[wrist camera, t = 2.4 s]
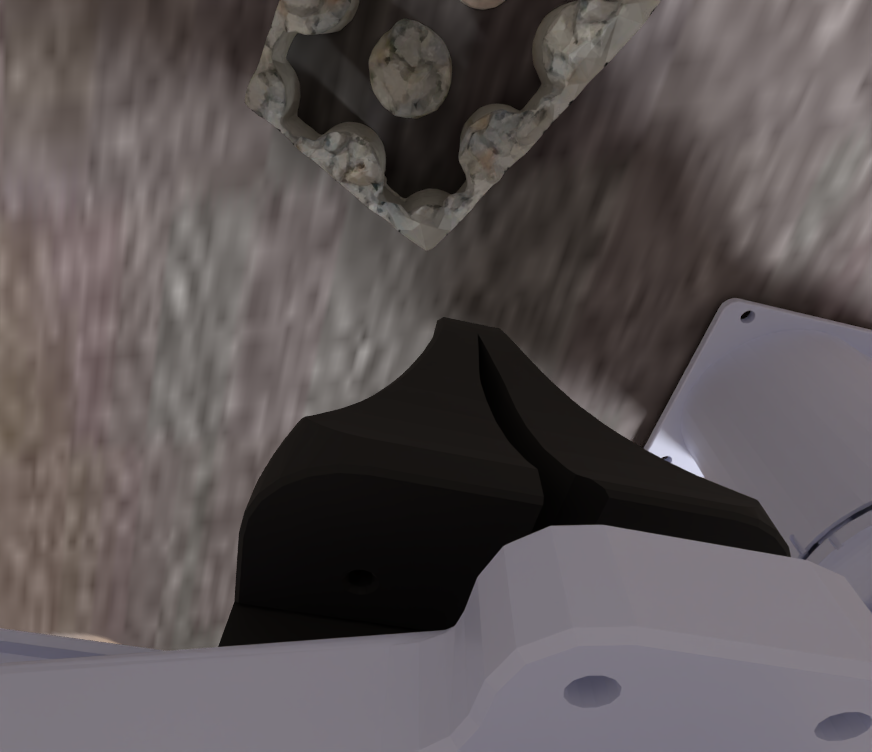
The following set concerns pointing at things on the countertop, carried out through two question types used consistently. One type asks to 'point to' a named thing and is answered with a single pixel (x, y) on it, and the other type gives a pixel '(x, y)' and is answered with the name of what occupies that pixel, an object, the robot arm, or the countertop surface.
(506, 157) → the grey lobed hollow piece
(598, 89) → the countertop surface
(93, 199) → the countertop surface
